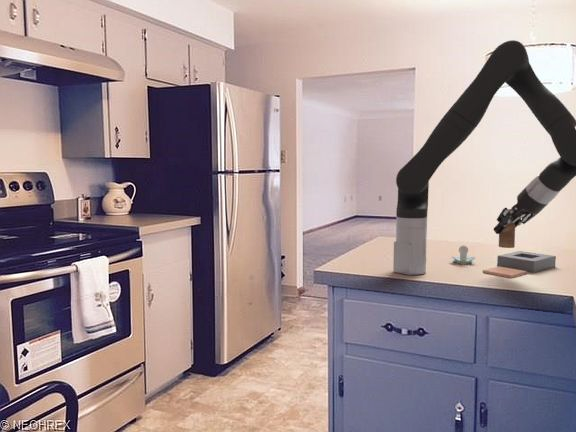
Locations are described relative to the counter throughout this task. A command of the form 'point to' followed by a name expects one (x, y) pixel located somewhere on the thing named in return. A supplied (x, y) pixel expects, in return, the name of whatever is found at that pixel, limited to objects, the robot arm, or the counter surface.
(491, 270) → the terracotta tile
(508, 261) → the pocket holder
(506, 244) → the walnut peg
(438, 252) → the counter surface
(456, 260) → the pacifier
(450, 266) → the counter surface
